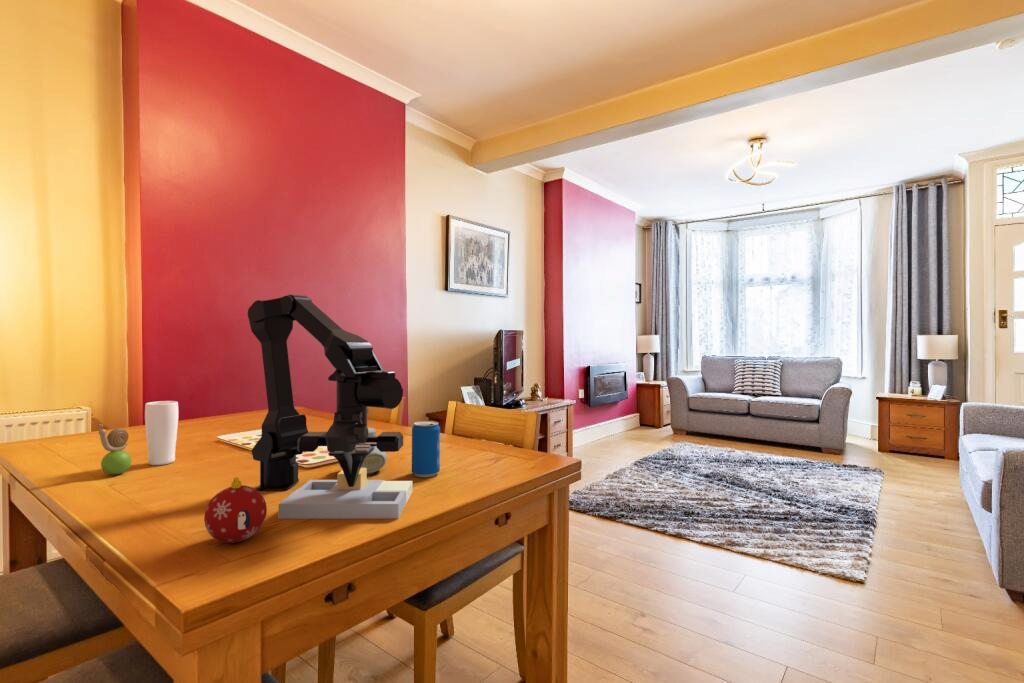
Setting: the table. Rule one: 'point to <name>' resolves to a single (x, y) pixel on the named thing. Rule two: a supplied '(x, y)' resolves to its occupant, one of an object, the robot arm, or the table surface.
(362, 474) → the ochre block
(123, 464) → the snail figurine
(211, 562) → the table surface
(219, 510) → the christmas ornament
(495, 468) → the table surface
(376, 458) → the air freshener
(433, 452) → the beverage can
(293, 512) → the trap board
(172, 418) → the drinking glass
